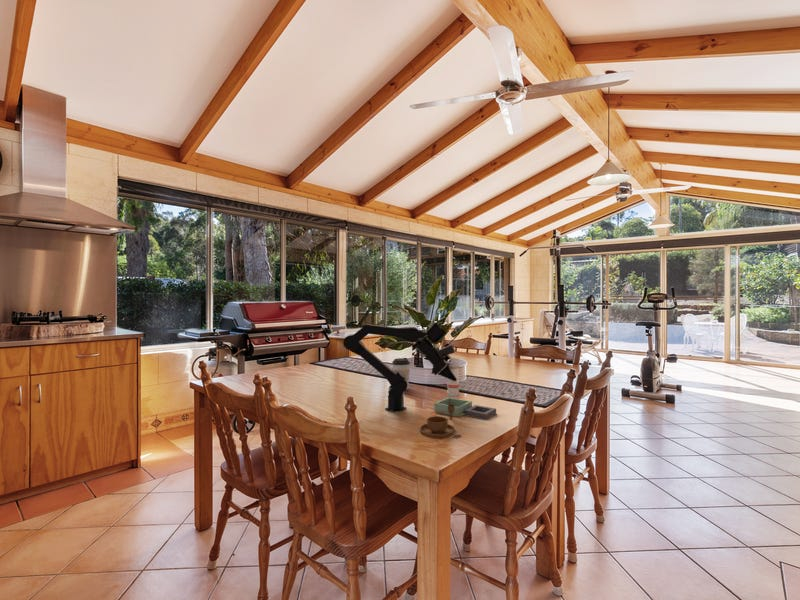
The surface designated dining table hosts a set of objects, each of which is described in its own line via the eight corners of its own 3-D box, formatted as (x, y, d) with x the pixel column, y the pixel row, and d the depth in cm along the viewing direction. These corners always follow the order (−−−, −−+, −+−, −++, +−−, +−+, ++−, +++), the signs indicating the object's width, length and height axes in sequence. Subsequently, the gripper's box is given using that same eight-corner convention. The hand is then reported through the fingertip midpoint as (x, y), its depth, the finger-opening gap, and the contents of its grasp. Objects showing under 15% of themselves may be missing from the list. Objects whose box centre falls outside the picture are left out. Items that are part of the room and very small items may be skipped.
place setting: (408, 429, 142) (407, 412, 142) (450, 419, 153) (450, 403, 153) (440, 444, 127) (440, 426, 127) (484, 432, 139) (484, 415, 139)
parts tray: (458, 416, 154) (458, 407, 154) (434, 411, 161) (434, 403, 161) (471, 410, 163) (471, 401, 163) (448, 405, 169) (448, 397, 169)
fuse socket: (486, 419, 150) (486, 414, 150) (464, 415, 156) (464, 410, 156) (496, 413, 157) (496, 408, 157) (475, 409, 163) (475, 404, 163)
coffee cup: (399, 391, 194) (399, 360, 194) (388, 388, 201) (388, 358, 201) (413, 388, 200) (413, 358, 199) (402, 385, 207) (402, 356, 206)
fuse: (455, 397, 158) (455, 364, 158) (444, 395, 161) (444, 363, 161) (461, 395, 162) (461, 362, 162) (450, 393, 165) (450, 361, 165)
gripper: (440, 340, 153) (470, 370, 151) (445, 335, 171) (471, 361, 169) (420, 359, 155) (448, 389, 153) (427, 352, 173) (453, 379, 171)
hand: (456, 379), depth 161 cm, fingers closed on fuse, 4 cm apart
